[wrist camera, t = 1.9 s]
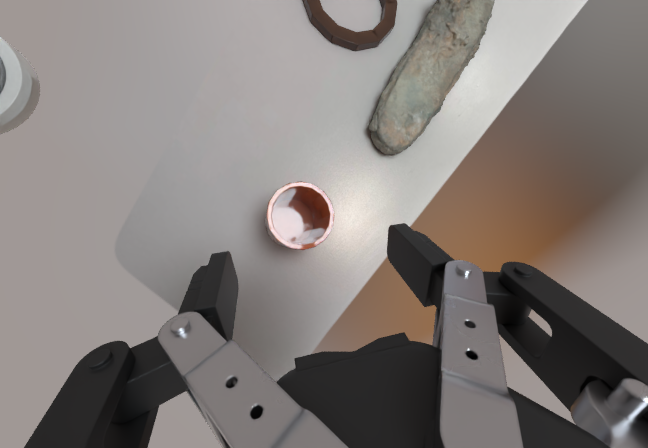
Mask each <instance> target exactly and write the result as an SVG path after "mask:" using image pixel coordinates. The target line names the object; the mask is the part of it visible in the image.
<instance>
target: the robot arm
mask: <svg viewBox="0 0 648 448" xmlns="http://www.w3.org/2000/svg"><path fill="white" fill-rule="evenodd" d="M5 81H6V70H5V66H4V63H3V60H2V59H1V57H0V94H1V92H2V90H3V88H4V85H5ZM387 255H388V259H389V261H390V263H392V265H393V266H394V268H395V269H396V271H397V272H398V273H399V274H400V275H401V277H402V278H403V280H404V281H405V282H406V284H407V285H408V286H409V287H410V289H411V290H412V291H413V293H414V294H415V295H416V297H417V298H418V299H419V301H420V302H421V303H422V304H423V306H424V307H427V306H431V305H435V306H436V307H437V309H436V314H435V325H434V335H433V345H429V344H425V343H421V342H415V341H409V340H408V338H407V336H406V335H405V333H399V334H395V335H391V336H387V337H383V338H379V339H377V340H375V341H373V342H371V343H369V344H368V345H366V346H364V347H362V348H360V349H358V350H357V351H353V352H320V353H315V354H311V355H307V356H303V357H298V358H295V365H296V368H295V369H293V370H291V371H290V372H288V373H287V374H285V375H284V376H283V377H282V378H280V379H279V380H278V381H277V382H275V381H274V380H273V379H272V378H271V377H270V376H269V375H268V374H267V373H266V372H265V371H264V370H263V369H262V368H261V367H260V366H259V365H258V364H257V363H256V362H255V361H254V360H253V359H252V358H251V357H250V356H249V355H248V354H247V353H246V352H245V351H244V350H243V349H242V348H241V347H240V346H239V345H238V344H237V343H236V342H235V341H233V340H232V336H233V328H234V320H235V312H236V304H237V297H238V279H237V275H236V271H235V268H234V264H233V261H232V257H231V254H230V252H229V251H227V252H220V253H214V254H212V255H211V258H210V261H209V264H208V265H206V266H201V267H200V268H199V269H198V270H197V271H196V272H195V273H194V274H193V277H192V280H191V282H190V283H191V284H190V285H189V287H188V291H187V292H186V295H185V297H184V300H183V303H182V305H181V308H180V310H179V313H178V315H176V316H175V317H173V318H172V319H170V320H169V321H167V322H166V323H165V324H164V325H163V326H162V328H161V329H160V331H159V333H158V336H157V337H155V338H153V339H151V340H148V341H146V342H144V343H141V344H139V345H137V346H134V347H132V348H129V346H128V344H127V343H125V342H123V341H114V342H110V343H107V344H104V345H102V346H100V347H98V348H96V349H94V350H93V351H91V352H90V353H89V354H87V355H86V356H85V357H84V358H83V359H81V360H80V362H79V363H78V364H77V365H76V367H75V368H74V369H73V371H72V373H71V374H70V376H69V377H68V379H67V381H66V382H65V384H64V385H63V387H62V388H61V390H60V392H59V393H58V395H57V396H56V398H55V400H54V401H53V403H52V405H51V406H50V408H49V409H48V411H47V412H46V414H45V415H44V417H43V418H42V420H41V422H40V423H39V425H38V426H37V428H36V430H35V431H34V433H33V434H32V436H31V437H30V439H29V441H28V442H27V444H26V445H25V447H24V448H147V447H148V443H149V440H150V436H151V433H152V429H153V425H154V422H155V419H156V415H157V412H158V408H159V405H161V404H162V403H164V402H166V401H168V400H170V399H172V398H174V397H175V396H177V395H179V394H181V393H183V392H185V391H187V393H188V394H189V396H190V397H191V399H192V400H193V402H194V403H195V405H196V407H197V408H198V410H199V411H200V412H201V414H202V416H203V417H204V419H205V421H206V422H207V424H208V425H209V427H210V428H211V430H212V431H213V433H214V435H215V437H216V438H217V440H218V442H219V443H220V445H221V447H222V448H648V344H647V343H646V342H644V341H643V340H641V339H640V338H638V337H637V336H635V335H634V334H632V333H631V332H630V331H628V330H627V329H625V328H623V327H622V326H621V325H619V324H618V323H616V322H615V321H613V320H612V319H610V318H609V317H607V316H606V315H604V314H603V313H601V312H600V311H599V310H597V309H595V308H594V307H592V306H591V305H590V304H588V303H587V302H585V301H583V300H582V299H581V298H579V297H578V296H576V295H575V294H573V293H572V292H570V291H569V290H567V289H566V288H565V287H563V286H561V285H560V284H558V283H557V282H556V281H554V280H553V279H551V278H550V277H548V276H547V275H545V274H544V273H542V272H541V271H539V270H537V269H536V268H534V267H532V266H530V265H527V264H524V263H519V262H507V263H504V264H503V265H502V268H501V271H500V272H482V270H481V269H480V268H479V267H478V266H476V265H474V264H472V263H470V262H467V261H462V260H454V259H453V258H451V257H450V256H449V255H448V254H447V253H445V252H444V251H443V250H442V249H441V248H439V247H438V246H437V245H436V244H435V243H434V242H432V241H431V240H430V239H429V238H428V237H427V236H426V235H424V234H422V233H420V232H417V231H413V230H412V229H411V228H410V227H409V226H408V225H407V224H405V223H403V224H396V225H391V226H390V227H389V230H388V245H387ZM531 309H533V310H534V311H535V312H536V313H537V314H538V315H540V316H541V317H542V318H543V319H544V320H545V321H547V323H548V324H549V325H550V327H551V329H552V337H550V336H549V335H548V334H547V333H546V332H545V331H544V330H542V329H541V328H540V327H539V326H538V325H537V324H536V323H535V322H534V321H532V320H531V319H530V318H529V317H528V316H529V314H530V311H531ZM498 333H499V334H500V335H501V337H502V338H503V339H504V340H505V341H506V342H507V343H508V344H509V345H510V346H511V347H512V349H513V350H514V351H515V352H516V353H517V354H518V355H519V356H520V357H521V358H522V359H523V361H524V362H525V363H526V364H527V365H528V366H529V367H530V368H531V369H532V370H533V371H534V373H535V374H536V375H537V376H538V377H539V378H540V379H541V380H542V381H543V382H544V383H545V385H546V386H547V387H548V388H549V389H550V390H551V391H552V392H553V393H554V394H555V396H556V397H557V398H558V399H559V400H560V401H561V402H562V403H563V404H564V405H565V406H566V407H567V409H568V410H569V411H570V412H571V416H572V419H573V421H574V423H575V424H576V425H575V424H573V423H571V422H570V421H568V420H566V419H564V418H562V417H560V416H559V415H557V414H555V413H553V412H552V411H550V410H548V409H546V408H545V407H543V406H541V405H539V404H537V403H536V402H534V401H532V400H530V399H529V398H527V397H525V396H523V395H521V394H519V393H518V392H516V391H514V390H513V389H511V388H509V387H507V382H506V376H505V370H504V364H503V358H502V352H501V346H500V340H499V334H498Z"/></svg>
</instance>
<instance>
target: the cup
mask: <svg viewBox="0 0 648 448" xmlns="http://www.w3.org/2000/svg"><path fill="white" fill-rule="evenodd" d="M333 221H334V211H333V206H332V203H331V201H330V199H329V198H328V196H327V195H326V194H325V192H324V191H322V190H321V189H320V188H318V187H317V186H315V185H313V184H310V183H305V182H295V183H289V184H286V185H285V186H283V187H282V188H280V189H279V190H277V191H276V192H275V194H274V195H273V197H272V198H271V200H270V201H269V204H268V209H267V214H266V219H265V225H266V229H267V233H268V234H269V236H270V237H271V238H272V240H273V241H275V242H276V243H278V244H279V245H281V246H284V247H288V248H294V249H300V250H304V249H308V248H312V247H315V246H317V245H318V244H320V243H321V242H322V241H324V240H325V239H326V238H327V236H328V235H329V233H330V231H331V230H332V227H333Z"/></svg>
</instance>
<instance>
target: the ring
mask: <svg viewBox="0 0 648 448" xmlns="http://www.w3.org/2000/svg"><path fill="white" fill-rule="evenodd" d="M303 2H304V5H305V7H306V10H307V13H308V16H309V18H310V21H311V23H312V24H313V25H314V26H315V27H316V28H317V29H318V30H319V31H320V32H321V33H322V34H323V35H324V36H325V37H326V38H327V39H328V40H329V41H330V42H332V43H334V44H337V45H340V46H343V47H345V48H348V49H351V50H354V51H357V50H362V49H367V48H373V47H376V46H378V45H379V44H380V43H381V42H382V41H383V40H384V38H385V37H386V36H387V35H388V34H389V33H390V32H391V30H392V29H393V27H394V24H395V17H396V10H397V0H380V3H381V5H382V8H383V10H382V17H381V22H380V23H379V24H378V25H377V26H376V27H375V28H374V29H373V30H368V31H362V32H354V31H352V30H349V29H346V28H344V27H341V26H339V25H337V24H336V23H335V22H334V21H333V20H332V19H331V18H330V17H329V16H328V15H327V14H326V13H325V11H324V10H323V8H322V6H321V3H320V0H303Z"/></svg>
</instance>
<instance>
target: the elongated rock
mask: <svg viewBox="0 0 648 448" xmlns="http://www.w3.org/2000/svg"><path fill="white" fill-rule="evenodd" d="M493 5H494V0H437V1H436V3H435V6H434V7H433V8H432V9H431V10H430V12H429V14H428V16H427V18H426V20H425V22H424V25H423V26H422V28H421V30H420V33H419V34H418V36H417V37H416V40H415V42H414V44H413V45H412V46H411V48H410V49H409V50H408V51H407V52H406V54H405V55H404V58H403V59H402V60H401V61H400V62H399V63H398V65H397V67H396V69H395V70H394V73H393V75H392V77H391V79H390V82H389V84H388V85H387V86H386V87H385V89H384V91H383V92H382V94H381V97H380V99H379V103H378V106H377V108H376V112H375V113H374V115H373V117H372V118H373V120H372V121H371V123H370V125H369V127H368V128H369V130H370V131H372V132H371V138H372V141H373V143H374V144H375V146H376V147H377V149H379V150H380V151H381V152H383V153H385V154H387V155H389V154H398V153H400V152H401V151H403V150H405V149H406V148H407V147H408V146H411V144H412V143H413V142H414V141H415V140H416V139H417V138H418V137H419V136H420V135H421V134H422V133H423V132H424V130H425V128H426V126H427V125H428V124H429V122H430V120H431V118H432V117H433V116H435V115H436V114H437V113H438V112H439V111H440V109H441V106H442V105H443V101H444V100H445V97H446V95H447V94H448V93H449V92H450V90H451V89H452V87H453V86H454V84H455V83H456V82H457V81H458V79H459V77H460V75H461V73H462V71H463V70H464V68H465V66H467V65H468V63H469V61H470V59H472V58H474V55H475V53H476V52H477V50H478V49H479V45H480V40H481V38H482V36H483V35H484V34H485V31H486V27H487V23H488V20H489V19H490V18H491V16H492V14H491V12H492V9H493Z"/></svg>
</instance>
